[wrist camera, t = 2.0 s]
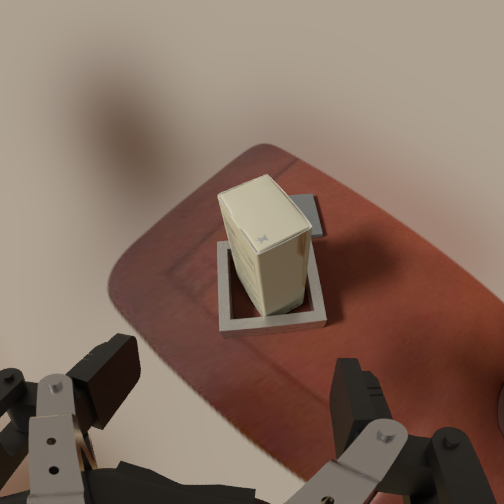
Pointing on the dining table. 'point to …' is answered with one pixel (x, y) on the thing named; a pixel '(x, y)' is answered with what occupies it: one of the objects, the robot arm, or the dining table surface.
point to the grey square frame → (267, 323)
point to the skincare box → (267, 244)
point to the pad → (308, 212)
